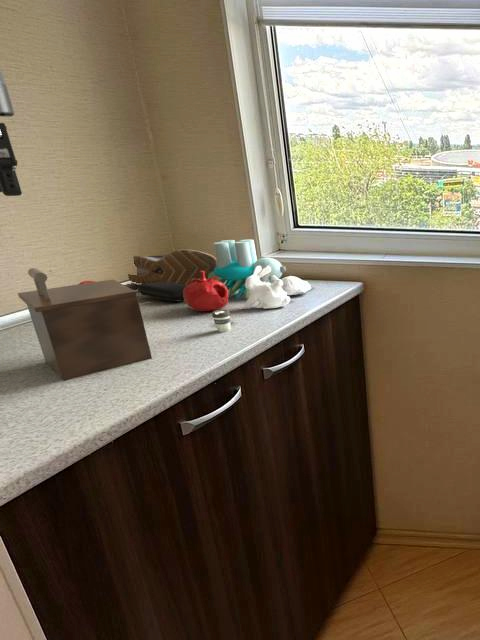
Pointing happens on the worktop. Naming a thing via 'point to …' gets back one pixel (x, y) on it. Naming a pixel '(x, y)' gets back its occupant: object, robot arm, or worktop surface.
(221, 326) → the grey ridged cylinder
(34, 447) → the worktop surface
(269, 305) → the rabbit figurine
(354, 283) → the worktop surface
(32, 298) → the lid
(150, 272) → the athletic shoe
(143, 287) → the carrying case
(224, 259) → the toy
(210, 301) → the pomegranate
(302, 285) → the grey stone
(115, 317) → the chest
